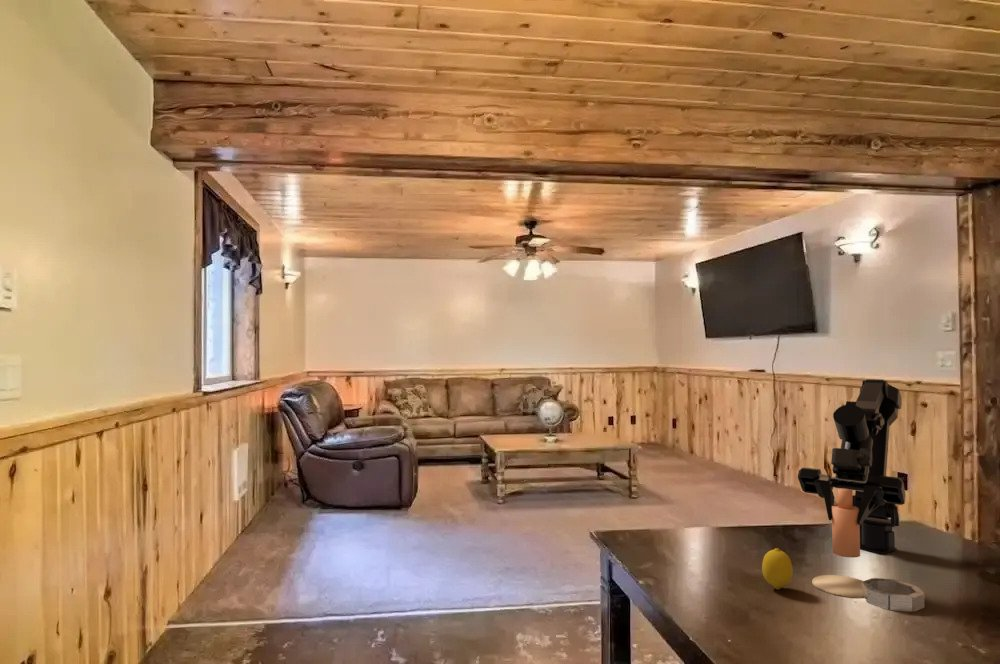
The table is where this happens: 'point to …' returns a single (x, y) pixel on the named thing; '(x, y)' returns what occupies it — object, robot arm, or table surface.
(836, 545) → the pin
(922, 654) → the table surface
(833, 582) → the coaster
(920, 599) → the ring
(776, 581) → the lemon
